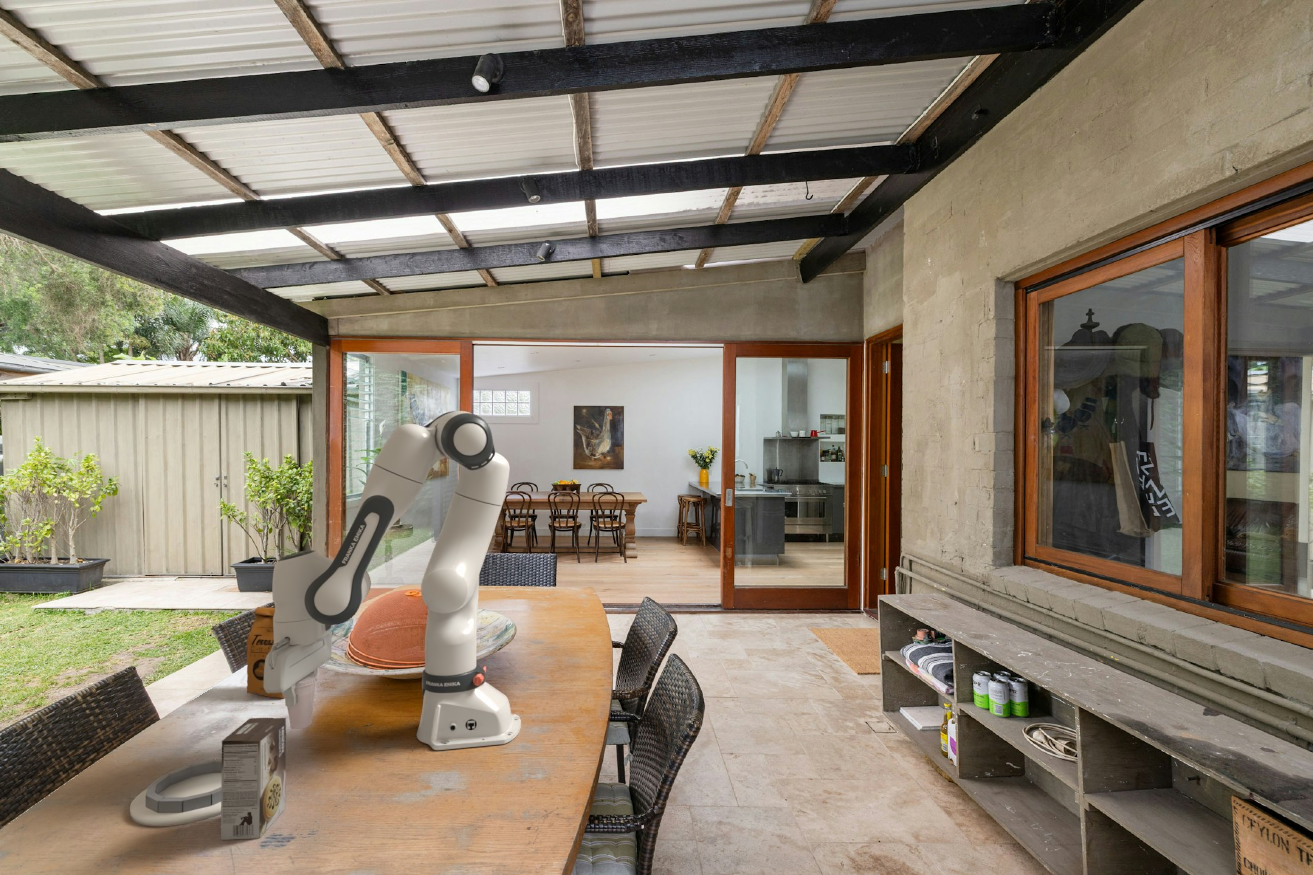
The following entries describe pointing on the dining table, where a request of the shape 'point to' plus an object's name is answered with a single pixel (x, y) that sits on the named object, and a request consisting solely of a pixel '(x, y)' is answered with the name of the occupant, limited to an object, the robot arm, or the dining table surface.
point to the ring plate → (181, 796)
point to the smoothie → (303, 703)
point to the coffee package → (260, 651)
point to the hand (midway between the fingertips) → (300, 698)
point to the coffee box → (253, 778)
